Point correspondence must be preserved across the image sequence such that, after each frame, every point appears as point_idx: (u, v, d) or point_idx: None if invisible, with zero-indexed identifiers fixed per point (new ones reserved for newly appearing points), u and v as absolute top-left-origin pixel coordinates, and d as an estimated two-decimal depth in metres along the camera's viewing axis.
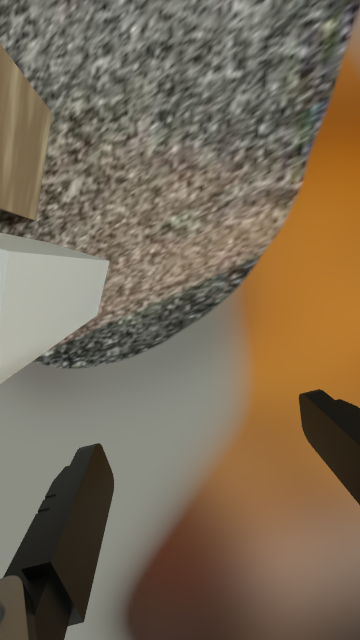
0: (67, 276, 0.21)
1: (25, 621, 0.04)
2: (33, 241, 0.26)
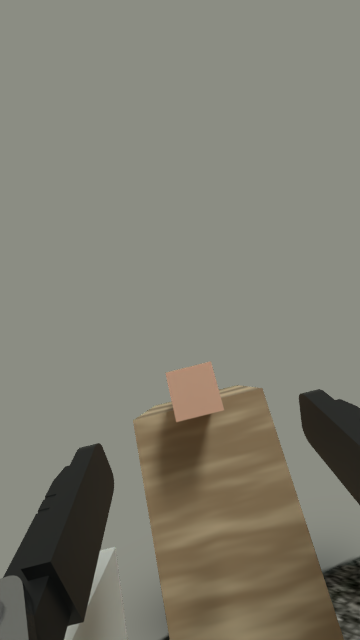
0: None
1: (25, 621, 0.04)
2: None
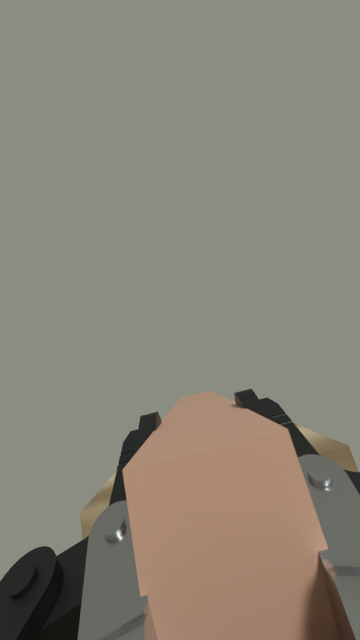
0: None
1: None
2: None
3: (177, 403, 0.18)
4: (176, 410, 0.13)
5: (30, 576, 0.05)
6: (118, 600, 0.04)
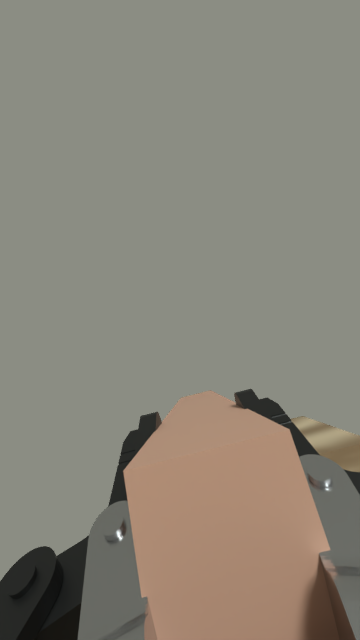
0: None
1: None
2: None
3: (177, 403, 0.18)
4: (176, 410, 0.13)
5: (30, 576, 0.05)
6: (118, 600, 0.04)
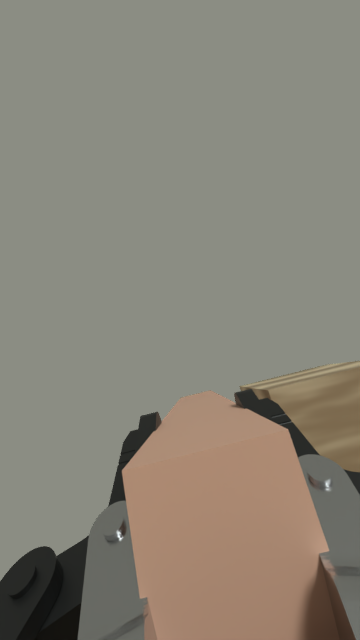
0: None
1: None
2: None
3: (177, 403, 0.18)
4: (176, 410, 0.13)
5: (30, 576, 0.05)
6: (118, 600, 0.04)
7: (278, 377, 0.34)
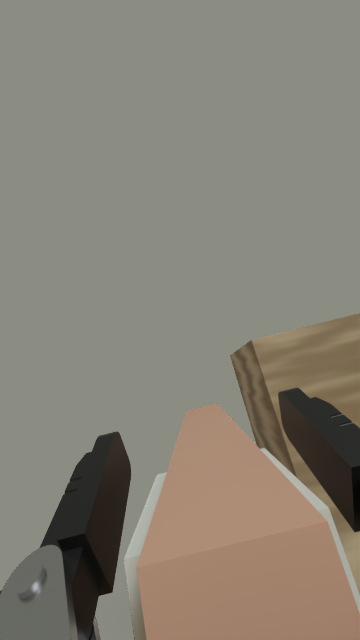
0: None
1: (67, 583, 0.05)
2: None
3: (184, 422, 0.18)
4: (185, 438, 0.13)
5: None
6: None
7: None
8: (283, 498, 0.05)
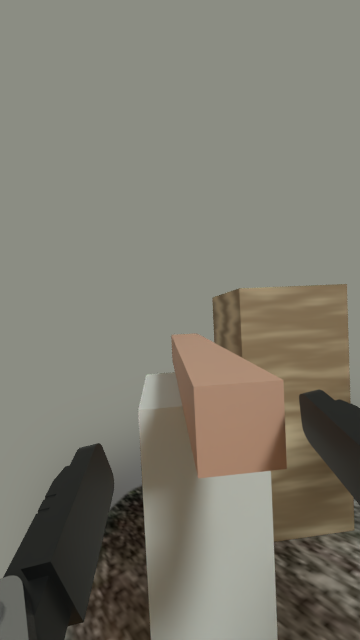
0: (247, 518, 0.16)
1: (25, 621, 0.04)
2: None
3: (175, 341, 0.22)
4: (183, 349, 0.17)
5: None
6: None
7: None
8: (261, 374, 0.10)
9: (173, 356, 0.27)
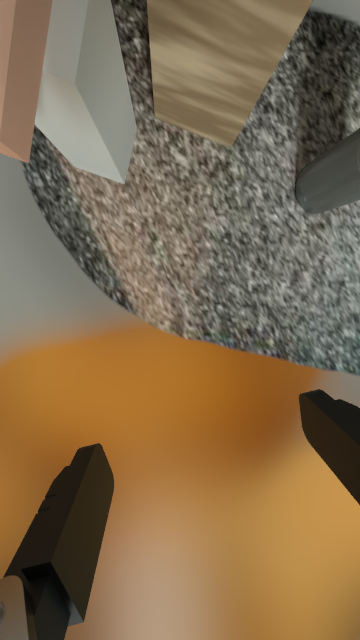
0: (86, 134, 0.26)
1: (25, 621, 0.04)
2: (125, 110, 0.31)
3: None
4: None
5: None
6: None
7: None
8: None
9: None
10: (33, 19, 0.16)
